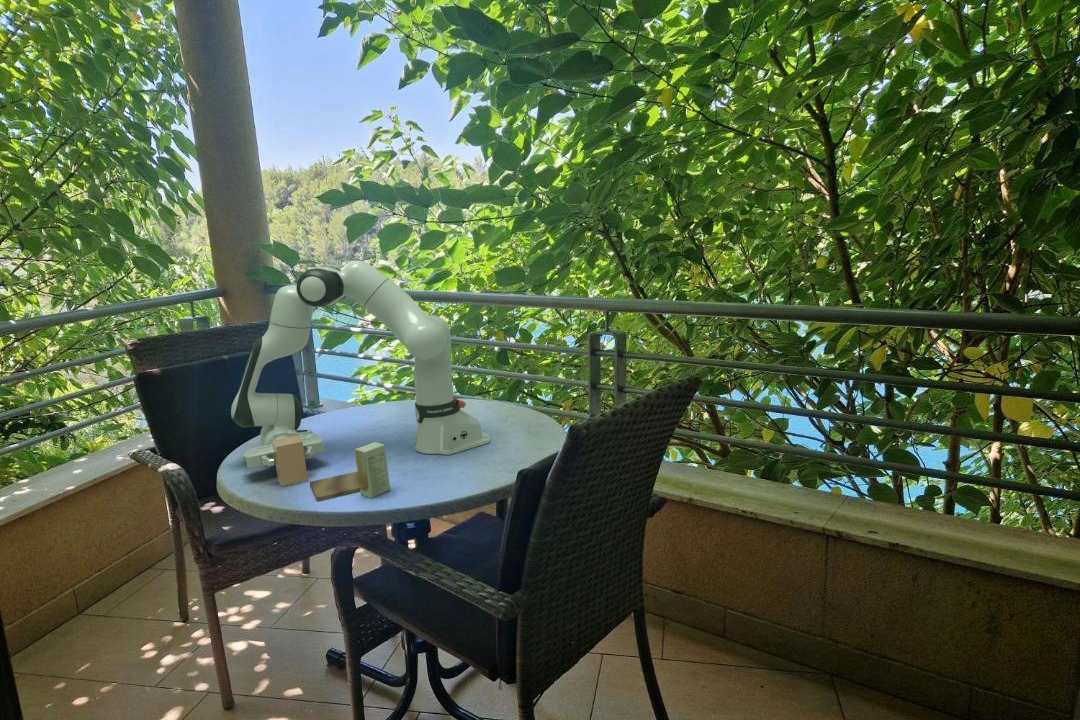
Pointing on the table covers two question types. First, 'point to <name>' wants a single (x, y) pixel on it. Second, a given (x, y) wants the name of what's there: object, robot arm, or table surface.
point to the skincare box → (372, 469)
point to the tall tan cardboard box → (289, 460)
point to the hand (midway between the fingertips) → (290, 459)
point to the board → (335, 486)
